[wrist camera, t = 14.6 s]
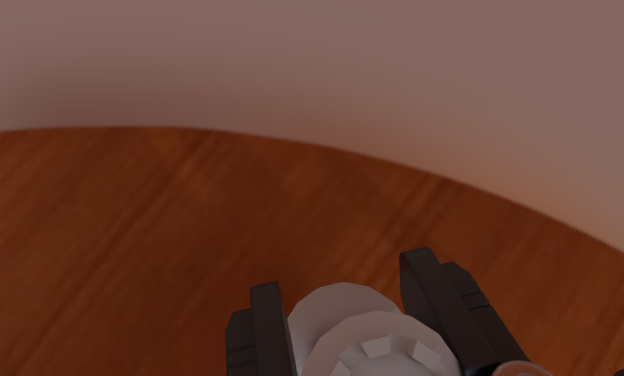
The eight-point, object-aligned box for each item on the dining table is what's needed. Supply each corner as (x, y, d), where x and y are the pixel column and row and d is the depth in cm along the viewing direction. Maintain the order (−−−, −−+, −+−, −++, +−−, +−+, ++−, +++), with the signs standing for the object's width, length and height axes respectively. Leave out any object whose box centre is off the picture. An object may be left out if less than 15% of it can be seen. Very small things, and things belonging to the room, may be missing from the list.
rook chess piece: (341, 255, 16) (383, 227, 8) (435, 346, 16) (577, 408, 8) (251, 351, 15) (204, 421, 7) (347, 450, 15) (406, 637, 7)
